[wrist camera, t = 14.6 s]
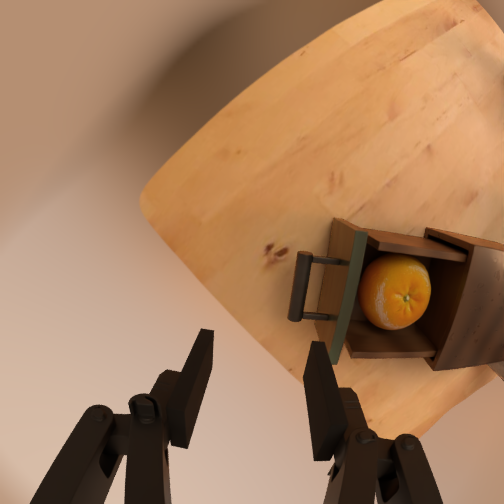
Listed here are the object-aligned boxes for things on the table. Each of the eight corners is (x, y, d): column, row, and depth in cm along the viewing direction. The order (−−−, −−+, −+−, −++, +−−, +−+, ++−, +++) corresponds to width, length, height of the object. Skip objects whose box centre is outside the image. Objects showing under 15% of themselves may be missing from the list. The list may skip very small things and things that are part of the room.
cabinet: (400, 329, 35) (433, 371, 25) (425, 227, 31) (474, 244, 21) (473, 328, 34) (508, 360, 24) (497, 242, 31) (542, 260, 21)
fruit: (444, 258, 27) (442, 298, 21) (415, 311, 32) (405, 354, 26) (381, 230, 30) (364, 263, 25) (360, 286, 35) (339, 324, 30)
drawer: (281, 321, 35) (283, 361, 26) (296, 212, 31) (306, 223, 23) (411, 328, 34) (440, 362, 25) (436, 234, 31) (476, 250, 22)
